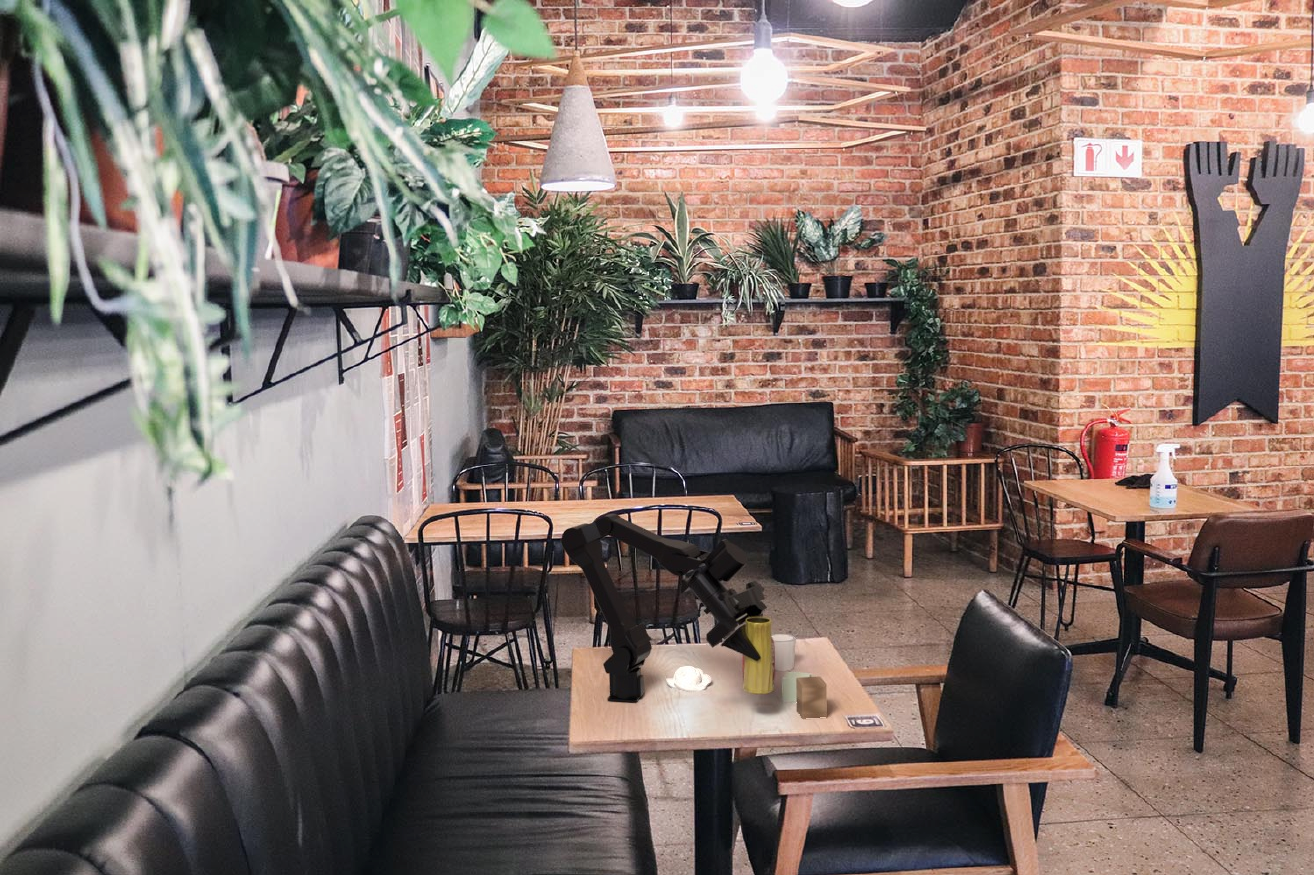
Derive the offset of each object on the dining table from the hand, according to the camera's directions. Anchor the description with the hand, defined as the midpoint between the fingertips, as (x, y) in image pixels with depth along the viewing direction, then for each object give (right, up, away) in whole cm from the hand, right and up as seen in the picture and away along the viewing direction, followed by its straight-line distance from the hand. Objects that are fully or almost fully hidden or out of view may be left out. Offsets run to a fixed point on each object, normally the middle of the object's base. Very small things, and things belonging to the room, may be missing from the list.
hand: (764, 655), depth 213 cm
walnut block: (+10, -13, +4) cm, 17 cm away
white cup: (+7, -10, +35) cm, 37 cm away
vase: (-1, -7, +1) cm, 7 cm away
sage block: (+8, -12, +13) cm, 20 cm away
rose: (-14, -12, +23) cm, 30 cm away
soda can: (+1, -11, +21) cm, 24 cm away
